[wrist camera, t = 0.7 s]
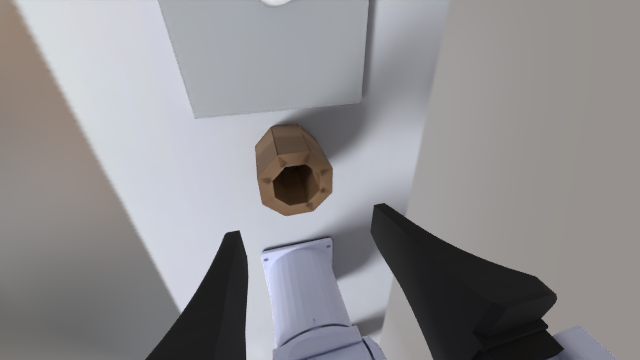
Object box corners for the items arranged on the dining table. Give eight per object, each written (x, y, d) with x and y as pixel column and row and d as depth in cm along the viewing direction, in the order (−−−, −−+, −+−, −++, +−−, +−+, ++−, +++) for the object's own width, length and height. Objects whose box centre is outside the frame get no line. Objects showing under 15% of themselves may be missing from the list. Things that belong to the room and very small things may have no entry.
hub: (316, 174, 22) (332, 207, 18) (261, 182, 21) (265, 219, 17) (314, 122, 19) (332, 148, 15) (251, 128, 18) (253, 158, 14)
